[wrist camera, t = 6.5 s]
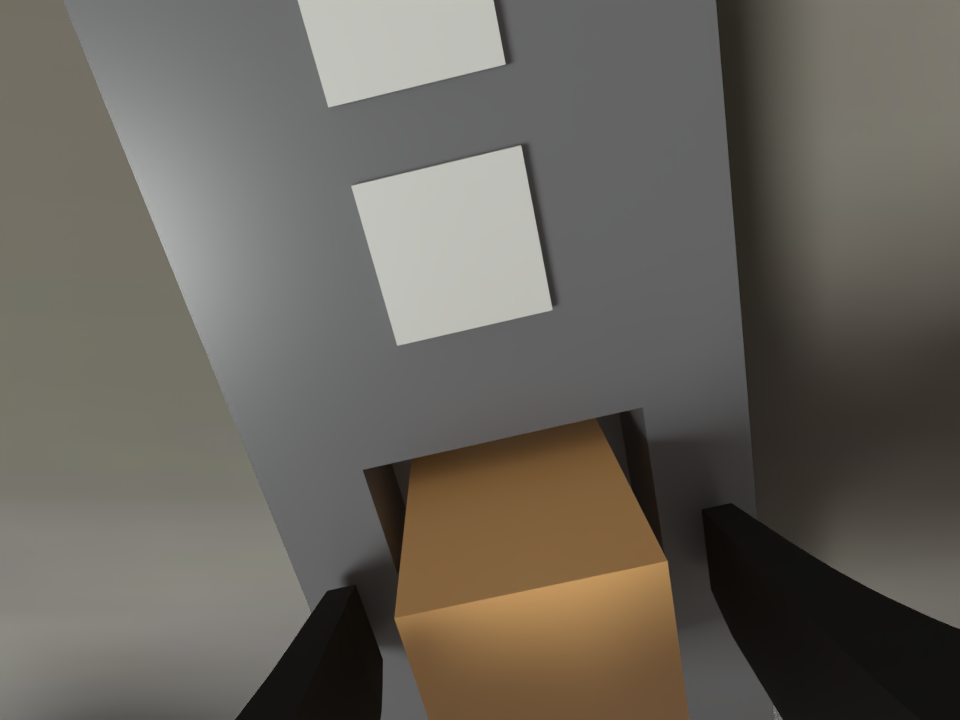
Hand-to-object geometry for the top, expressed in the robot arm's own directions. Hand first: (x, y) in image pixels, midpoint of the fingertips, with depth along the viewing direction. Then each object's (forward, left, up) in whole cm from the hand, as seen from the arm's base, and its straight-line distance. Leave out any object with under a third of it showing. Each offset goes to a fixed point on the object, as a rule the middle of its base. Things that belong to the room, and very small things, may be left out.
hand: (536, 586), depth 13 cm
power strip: (0, +4, -3) cm, 5 cm away
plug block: (0, 0, -3) cm, 3 cm away
